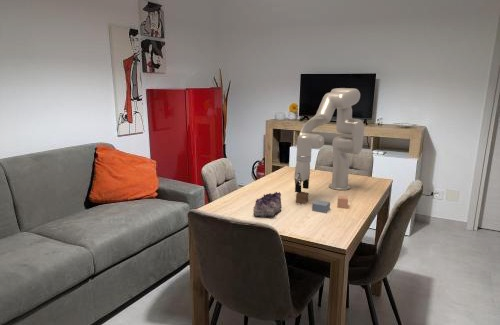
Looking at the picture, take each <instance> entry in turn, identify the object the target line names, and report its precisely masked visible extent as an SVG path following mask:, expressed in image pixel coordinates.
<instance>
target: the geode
mask: <svg viewBox="0 0 500 325" xmlns="http://www.w3.org/2000/svg"><path fill="white" fill-rule="evenodd" d="M281 196H282V194H281V192H280V191H278V192H277V191H275V192H274V193H266V194H263V196H261V197H260V198H256V200H255V204H254V207H253V213H252V214H253V216H255V217H268V218H273V217H275V215H276V214H278V213H281V212H282V198H281Z"/></svg>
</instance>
